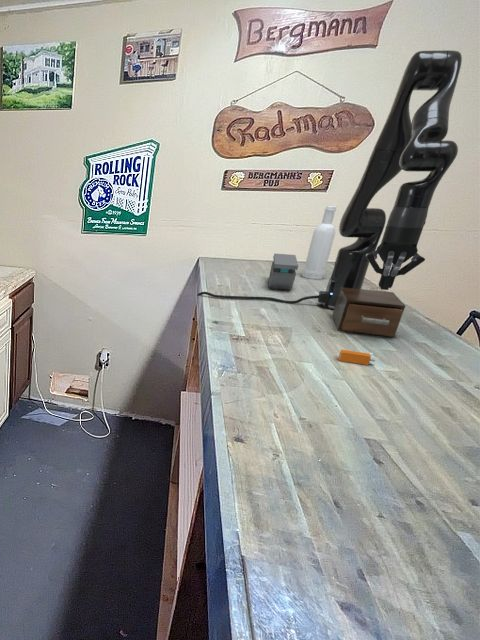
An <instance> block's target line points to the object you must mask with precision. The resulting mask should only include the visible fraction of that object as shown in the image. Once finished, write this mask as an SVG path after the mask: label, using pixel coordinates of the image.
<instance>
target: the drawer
mask: <svg viewBox="0 0 480 640" xmlns="http://www.w3.org/2000/svg"><path fill="white" fill-rule="evenodd" d="M402 313H403V314H404V311H403V310H402V309H398V308H396V307H386V306H377V305H368V304H358V303H349V306H348V309H347V312H346V315H345V319H344V322H343V325H342V328H341V329H342V330H347V331H346V332H348V331H355V332H354V333H356V332H363V333H370V334H369V335H371V334H378V335H377V336H379V335H386V336H385V337H387V336H394V335H395V336H396V333H397V331H396V330H398V328H397V327H399V325H400V322H401V319H402V317H401V316H403V314H402ZM400 318H401V319H400ZM399 321H400V322H399ZM398 324H399V325H398ZM395 332H396V333H395ZM363 333H362V334H363ZM395 336H394V337H395Z"/></svg>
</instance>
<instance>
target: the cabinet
mask: <svg viewBox="0 0 480 640" xmlns="http://www.w3.org/2000/svg"><path fill="white" fill-rule="evenodd" d="M349 303H358V304H368V305H377V306H386V307H396V308H398V309H402V310H403V313H402V316H403V314H404V311H405V309H406V308H405V307H406V305H405V304H404V302H403V301H402V300H401V299H400V298H399V297H398V296H397V294H395V292H393V291H386V290H375V289H374V290H373V289H363V288H361V289H353V288H343V287H341V288H340V291H339V294H338V298H337V301H336V305H335V308H334V309H333V312H332V318H333V321H334V324H335V326H336V330H337V331H342V332H349V333H356V334H364V335H365V334H366V335H372V336H380V337H386V338H387V337H388V338H395V336H396V333H397V330H398V327H399V325H400V322H401V319H402V318H403V317H402V316H401V318H400V321H399V324H398V327H397V330H396V332H395V335H394V336H386V335H378V334H370V333H363V332H355V331H347V330H342V329H341V328H342V325H343V322H344V319H345V315H346V312H347V309H348V306H349Z"/></svg>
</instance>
